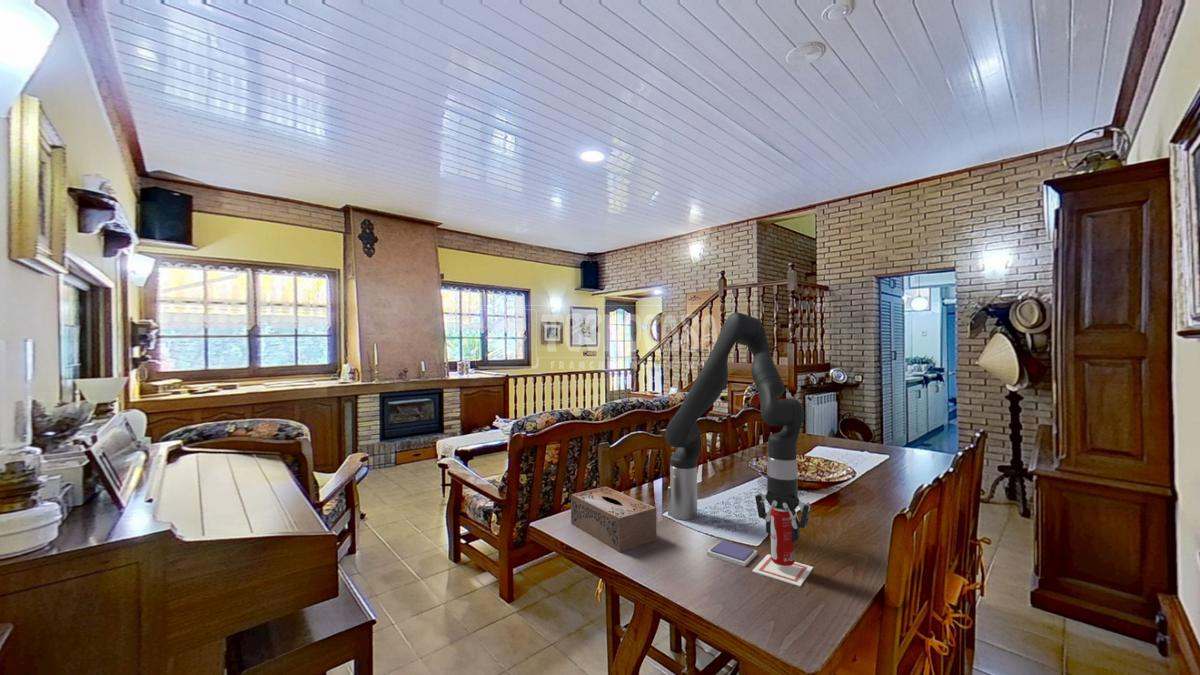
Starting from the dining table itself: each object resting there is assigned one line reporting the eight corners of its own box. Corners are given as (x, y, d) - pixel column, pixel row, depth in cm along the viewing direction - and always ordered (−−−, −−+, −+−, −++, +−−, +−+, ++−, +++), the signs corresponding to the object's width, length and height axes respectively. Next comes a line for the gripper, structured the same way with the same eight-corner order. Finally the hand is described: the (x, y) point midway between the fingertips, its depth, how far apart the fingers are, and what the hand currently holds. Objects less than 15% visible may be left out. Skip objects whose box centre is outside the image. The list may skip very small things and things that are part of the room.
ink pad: (707, 555, 131) (707, 549, 131) (720, 543, 138) (720, 538, 138) (745, 566, 124) (745, 561, 124) (757, 554, 131) (757, 549, 131)
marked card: (752, 571, 122) (752, 570, 122) (767, 555, 131) (767, 553, 131) (800, 586, 114) (800, 585, 114) (813, 568, 123) (813, 566, 123)
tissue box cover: (571, 524, 154) (570, 494, 154) (605, 514, 162) (605, 486, 162) (619, 553, 133) (619, 518, 133) (656, 540, 141) (656, 507, 142)
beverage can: (793, 559, 125) (793, 503, 125) (795, 570, 119) (795, 511, 119) (770, 555, 127) (770, 500, 127) (770, 566, 121) (770, 508, 121)
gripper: (815, 476, 121) (815, 540, 121) (760, 466, 130) (760, 526, 130) (807, 483, 115) (807, 551, 115) (750, 472, 124) (750, 535, 124)
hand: (782, 538), depth 123 cm, fingers closed on beverage can, 5 cm apart
